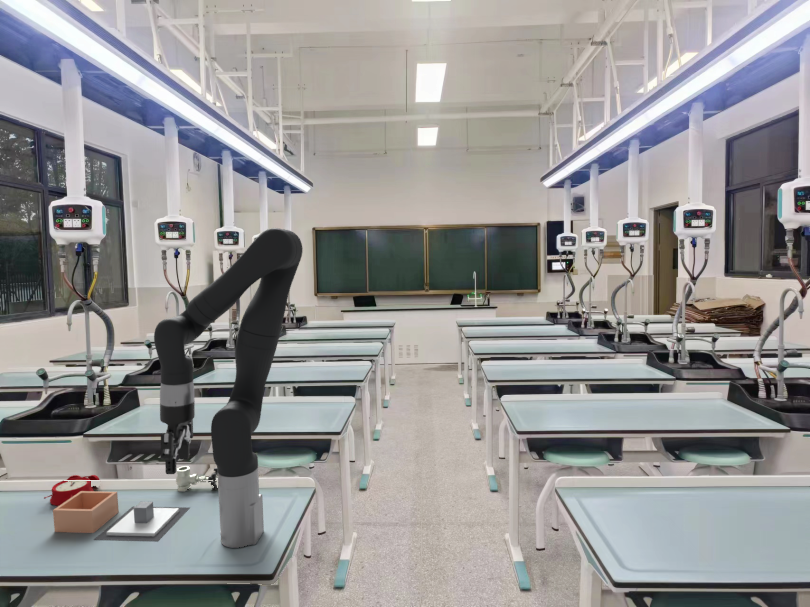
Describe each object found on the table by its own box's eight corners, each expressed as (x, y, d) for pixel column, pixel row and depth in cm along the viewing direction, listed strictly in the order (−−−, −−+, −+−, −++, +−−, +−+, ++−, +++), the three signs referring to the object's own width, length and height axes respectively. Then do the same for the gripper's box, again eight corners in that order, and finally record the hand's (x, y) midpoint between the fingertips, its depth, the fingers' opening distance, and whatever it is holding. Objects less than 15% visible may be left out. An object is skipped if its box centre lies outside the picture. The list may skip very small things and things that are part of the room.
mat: (190, 508, 137) (190, 507, 137) (158, 542, 122) (158, 541, 122) (132, 507, 138) (132, 506, 138) (93, 541, 123) (93, 539, 123)
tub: (118, 513, 136) (117, 491, 135) (93, 534, 126) (91, 510, 125) (82, 512, 136) (80, 491, 136) (54, 533, 126) (52, 510, 126)
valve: (172, 496, 145) (214, 495, 145) (170, 473, 145) (213, 473, 145) (181, 485, 152) (222, 484, 152) (180, 463, 151) (221, 463, 151)
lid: (179, 511, 136) (178, 493, 135) (154, 536, 124) (153, 517, 123) (135, 510, 136) (134, 493, 136) (106, 535, 124) (105, 516, 124)
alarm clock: (37, 496, 138) (70, 462, 152) (42, 515, 140) (75, 479, 154) (75, 496, 138) (105, 461, 152) (80, 514, 140) (109, 479, 155)
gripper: (182, 409, 115) (183, 479, 116) (203, 392, 129) (203, 454, 130) (148, 409, 114) (149, 479, 116) (172, 391, 128) (173, 454, 130)
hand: (177, 465), depth 123 cm, fingers open, 8 cm apart
